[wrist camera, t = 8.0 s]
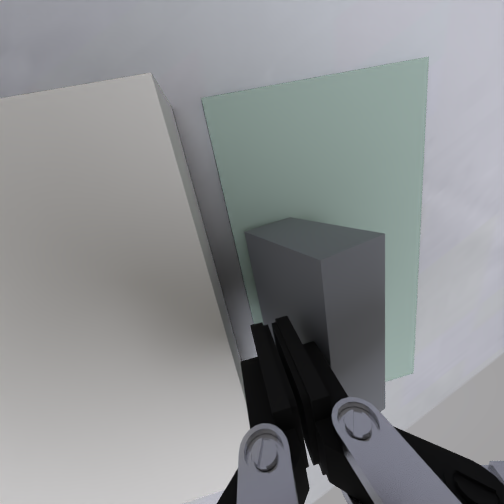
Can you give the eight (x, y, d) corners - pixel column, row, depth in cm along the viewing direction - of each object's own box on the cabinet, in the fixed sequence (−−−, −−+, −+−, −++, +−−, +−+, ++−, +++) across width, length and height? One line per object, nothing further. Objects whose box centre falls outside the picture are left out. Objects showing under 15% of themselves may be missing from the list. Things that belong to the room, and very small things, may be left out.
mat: (201, 100, 12) (201, 98, 11) (422, 60, 13) (428, 56, 12) (274, 410, 19) (275, 415, 19) (409, 369, 20) (413, 373, 20)
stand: (-148, 164, 10) (-356, 158, 7) (171, 106, 11) (150, 72, 8) (76, 470, 18) (39, 550, 14) (256, 416, 19) (267, 476, 15)
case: (320, 260, 7) (385, 233, 8) (244, 231, 13) (289, 217, 14) (339, 445, 10) (385, 408, 11) (271, 359, 16) (307, 339, 17)
